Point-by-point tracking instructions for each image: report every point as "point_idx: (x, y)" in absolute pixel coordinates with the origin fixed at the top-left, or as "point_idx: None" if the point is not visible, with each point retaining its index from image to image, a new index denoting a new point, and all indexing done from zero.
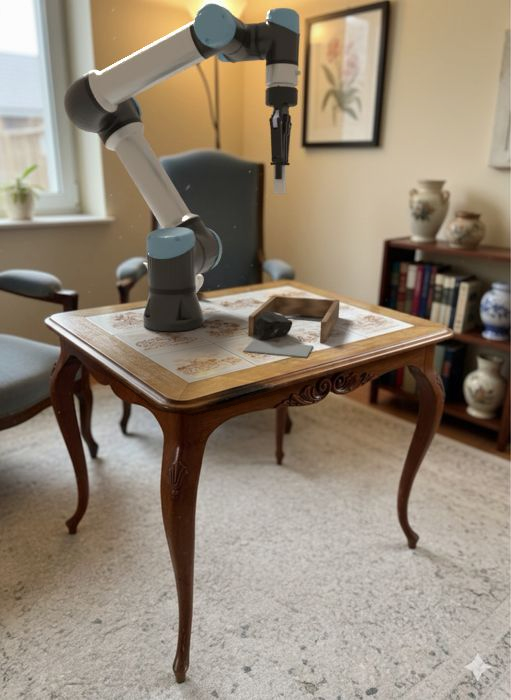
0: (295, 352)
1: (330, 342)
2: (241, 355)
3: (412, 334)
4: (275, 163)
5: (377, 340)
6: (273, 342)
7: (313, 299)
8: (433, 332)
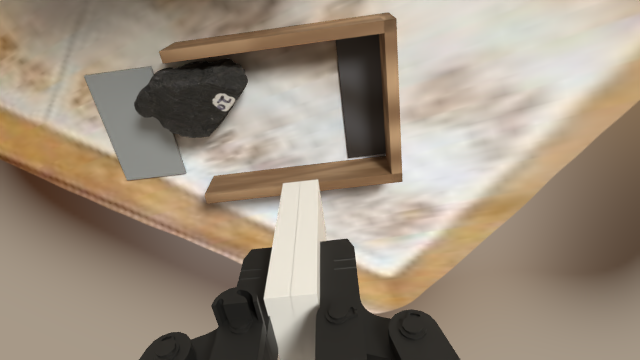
0: (134, 159)
1: None
2: (67, 80)
3: None
4: (208, 336)
5: None
6: None
7: (389, 129)
8: None
